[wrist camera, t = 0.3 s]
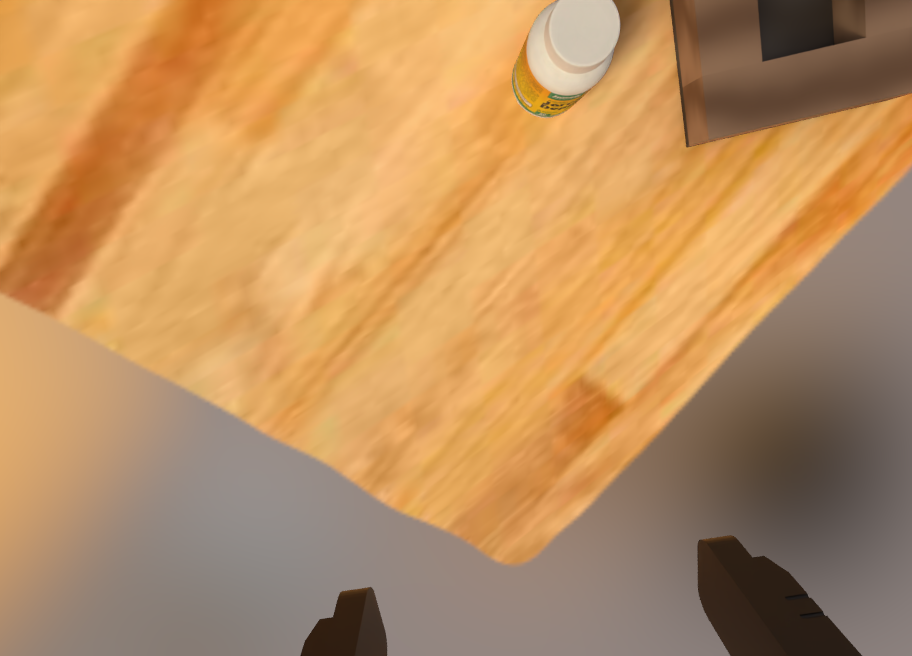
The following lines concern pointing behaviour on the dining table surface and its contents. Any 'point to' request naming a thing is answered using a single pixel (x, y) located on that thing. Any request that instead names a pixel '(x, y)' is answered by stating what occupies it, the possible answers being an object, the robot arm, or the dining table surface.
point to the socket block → (786, 60)
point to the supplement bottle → (565, 55)
